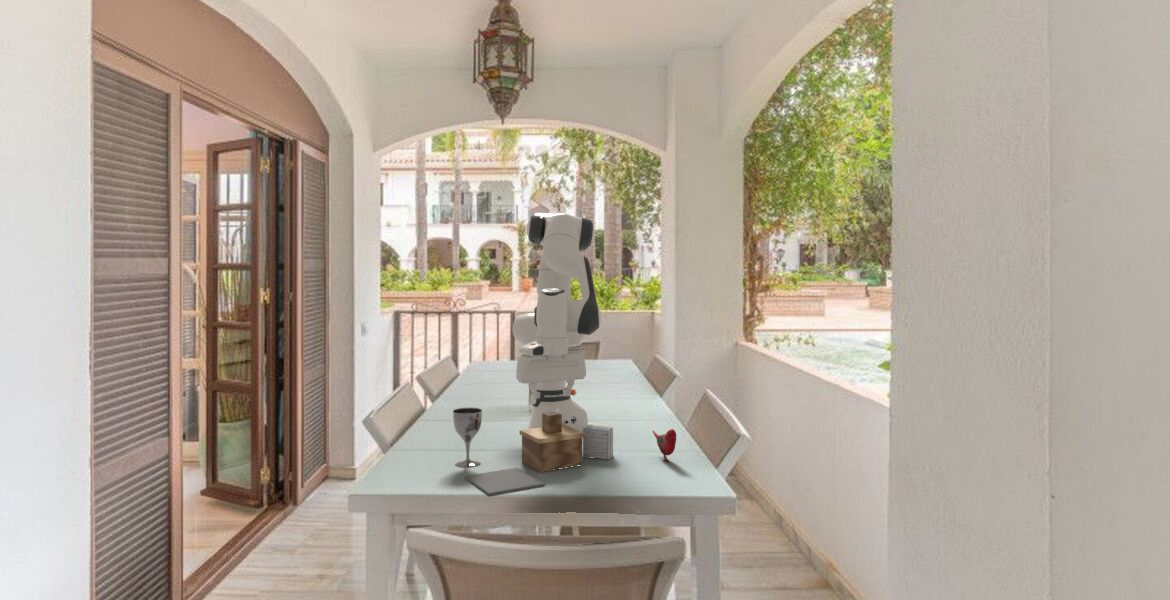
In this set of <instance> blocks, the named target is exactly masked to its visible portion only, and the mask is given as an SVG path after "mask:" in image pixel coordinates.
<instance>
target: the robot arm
mask: <svg viewBox="0 0 1170 600" xmlns="http://www.w3.org/2000/svg"><path fill="white" fill-rule="evenodd" d="M595 233H596V232H595V228H594V223H593V221H592V220H591V219H589V218H587V217H583V216H581V217H580V216H575V215H570V214H568V213H563V212H562V213H561V212H560V213H544V212H535V213H534V214H532V215H531V216H530V218H529V220H528V221H527V224H526V234H527V237H528V241H529V242H530V243H531V244H533V245H537V246H540V245H541V246H542V253H541V257H540V262H539V266H538V274H537V275H538V276H537V286H536V293H537V303H536V306H535V307H534V312H529V313H524V314H519V315H518V316H517V317H516V318H515V319H514V322H513V324H512V334H513V337H514V338H515V341H517V343H519V345H521V346H519V348H518V351H519V354H521V355H520V356H519V357H518V358H517V363H516V373H515V376H516V380H517V382H518V383H519V384H523V385H524V384H525V385H527V384H528V387H529V389H530V391H531V393H530V401H531V402H530V403H531V414H530V420H529V424H528V427H527V429H531V428H539V427H542V413H546V412H557V413H560V414H562V425H563V424H564V425H566V426H569V427H571V428H574V429H576V430H579V431H581V432H583V428H584V427H586V426H588V425H593V426H595V424H594V423H592V422H590V421H589V419H588V414H587V411H586V409H585V408H584V407H583V406H582V405H580V404H579V403H578V402H577V401H575V400H573V398H571V396H576V395H577V390H576V389H574V388H573V387H574V385H575V380H584V379H585V378H586V376H587V369H586V368H587V367H586V361H585V358H586V351H585V349H584V348H582V347H581V344H582V343H583V342H584V341H585V340H586V337H587V336H590V335H592V334H594V333H595V332H596V331H597V330H598V329H599V328H600V325H601V321H602V317H601V316H602V315H601V310H600V307H599V304H598V301H597V296H596V290H595V284H594V279H593V271H592V268H591V264H590V260H589V259H588V257H587V256H585V255H583V254H582V253H581V252H582V251H586V250H587V249H589V247H591V245H592V243H593V240H594V239H595ZM572 279H574V280H576V281H577V282H578V283H579V284H580V285H579V286H580V291H581V297H582V298H580V299H572V298H571V288H572V287H571V285H572V283H571V282H572Z"/></svg>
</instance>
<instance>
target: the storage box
mask: <svg viewBox="0 0 1170 600" xmlns="http://www.w3.org/2000/svg"><path fill="white" fill-rule="evenodd" d="M521 463H522V464H523V463H524V465H525V464H526V465H525V466H527V465H528V466H527V467H529V466H530V467H531V469H532V468H533V470H534V469H535V470H534V471H536V470H537V471H536V472H538V471H539V472H542V473H545V472H544V471H548V472H550V471H549V470H553V469H559V468H565V467H571V466H577V465H582V466H583V438H576V439H569V440H562V441H555V442H548V443H541V444H539V443H537V442H534V441H532V440H530V439H528V438H526V437H524V436H522V435H521ZM530 467H529V468H530ZM539 472H538V473H539Z"/></svg>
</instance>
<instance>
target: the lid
mask: <svg viewBox="0 0 1170 600" xmlns="http://www.w3.org/2000/svg"><path fill="white" fill-rule="evenodd" d="M519 435H521V437H522V436H524V437H526V438H528V439H530V440H532V441H534V442H537V443H539V444H541V443H548V442H555V441H562V440H569V439H576V438H582V439H583V437H585V433H584V432H581V431H579V430H576V429H574V428H571V427H569V426H566V425H564V424H563V425H562V414H560V413H557V412H546V413H542V427H539V428H531V429H528V428H525V429H519Z"/></svg>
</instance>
